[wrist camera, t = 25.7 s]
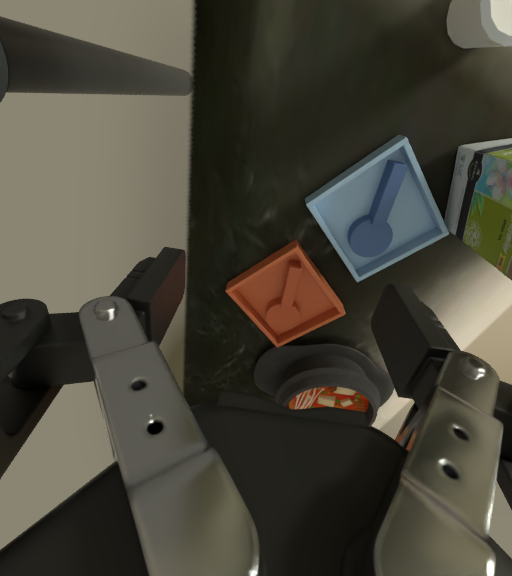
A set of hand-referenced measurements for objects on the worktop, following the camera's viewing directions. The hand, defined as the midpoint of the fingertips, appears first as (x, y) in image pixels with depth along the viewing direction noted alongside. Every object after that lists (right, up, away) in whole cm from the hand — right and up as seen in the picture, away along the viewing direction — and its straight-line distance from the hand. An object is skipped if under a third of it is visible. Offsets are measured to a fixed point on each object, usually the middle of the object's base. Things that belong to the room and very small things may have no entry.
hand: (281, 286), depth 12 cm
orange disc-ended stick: (+4, -1, +33) cm, 33 cm away
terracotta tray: (+3, -1, +34) cm, 34 cm away
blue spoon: (+14, +9, +26) cm, 31 cm away
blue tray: (+14, +9, +26) cm, 31 cm away
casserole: (+11, -16, +43) cm, 47 cm away
